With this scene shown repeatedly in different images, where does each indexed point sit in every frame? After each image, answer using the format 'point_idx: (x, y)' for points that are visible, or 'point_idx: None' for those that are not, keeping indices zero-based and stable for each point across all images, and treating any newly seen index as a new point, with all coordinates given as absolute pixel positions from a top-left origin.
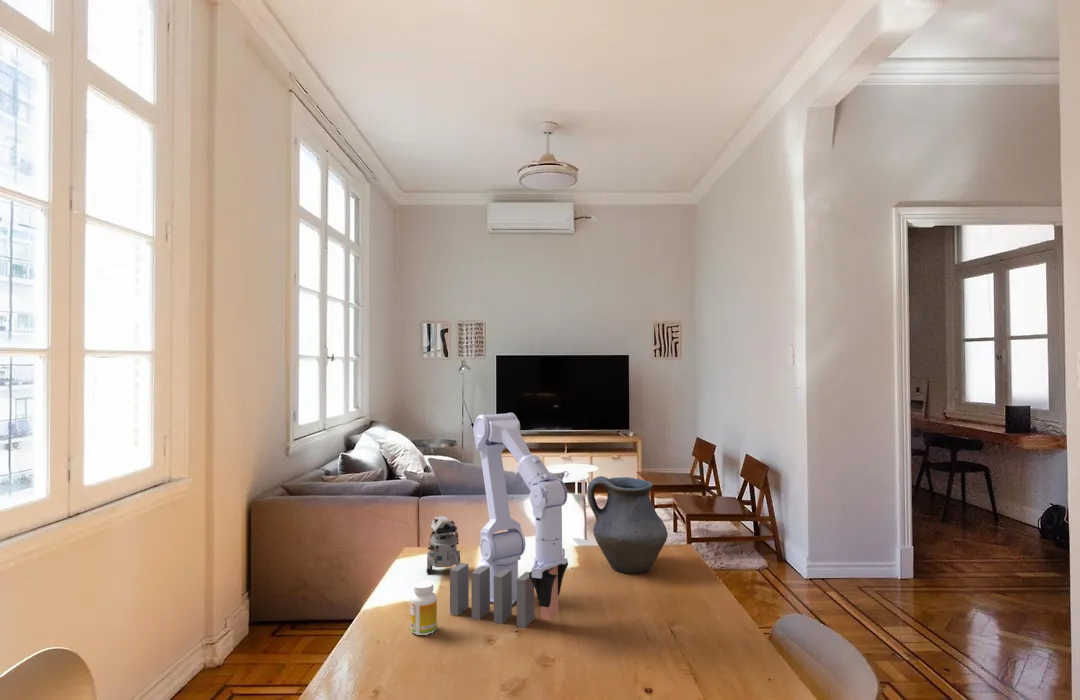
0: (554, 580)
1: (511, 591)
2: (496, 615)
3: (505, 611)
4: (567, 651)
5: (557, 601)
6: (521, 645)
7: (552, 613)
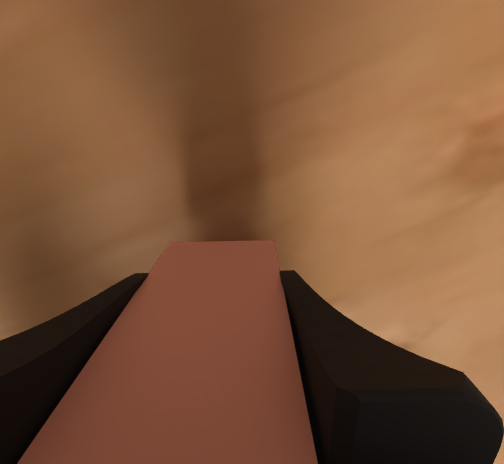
0: (321, 356)
1: None
2: None
3: None
4: (406, 99)
5: (164, 262)
6: (395, 271)
7: (241, 247)
